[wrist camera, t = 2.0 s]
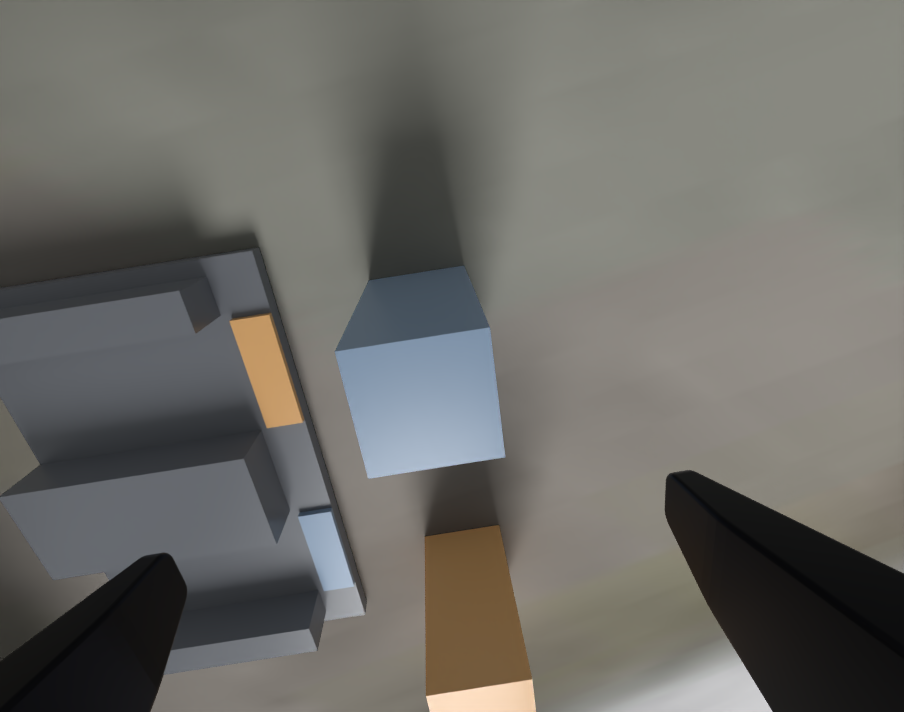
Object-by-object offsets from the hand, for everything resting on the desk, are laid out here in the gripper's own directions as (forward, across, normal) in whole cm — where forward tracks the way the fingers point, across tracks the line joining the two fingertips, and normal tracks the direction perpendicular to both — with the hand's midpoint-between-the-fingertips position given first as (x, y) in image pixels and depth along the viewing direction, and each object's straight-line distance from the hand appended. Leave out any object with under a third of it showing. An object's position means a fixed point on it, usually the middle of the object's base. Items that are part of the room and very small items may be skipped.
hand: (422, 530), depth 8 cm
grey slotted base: (+12, +12, +6) cm, 18 cm away
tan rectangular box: (+13, 0, +14) cm, 19 cm away
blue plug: (+13, 0, 0) cm, 13 cm away
